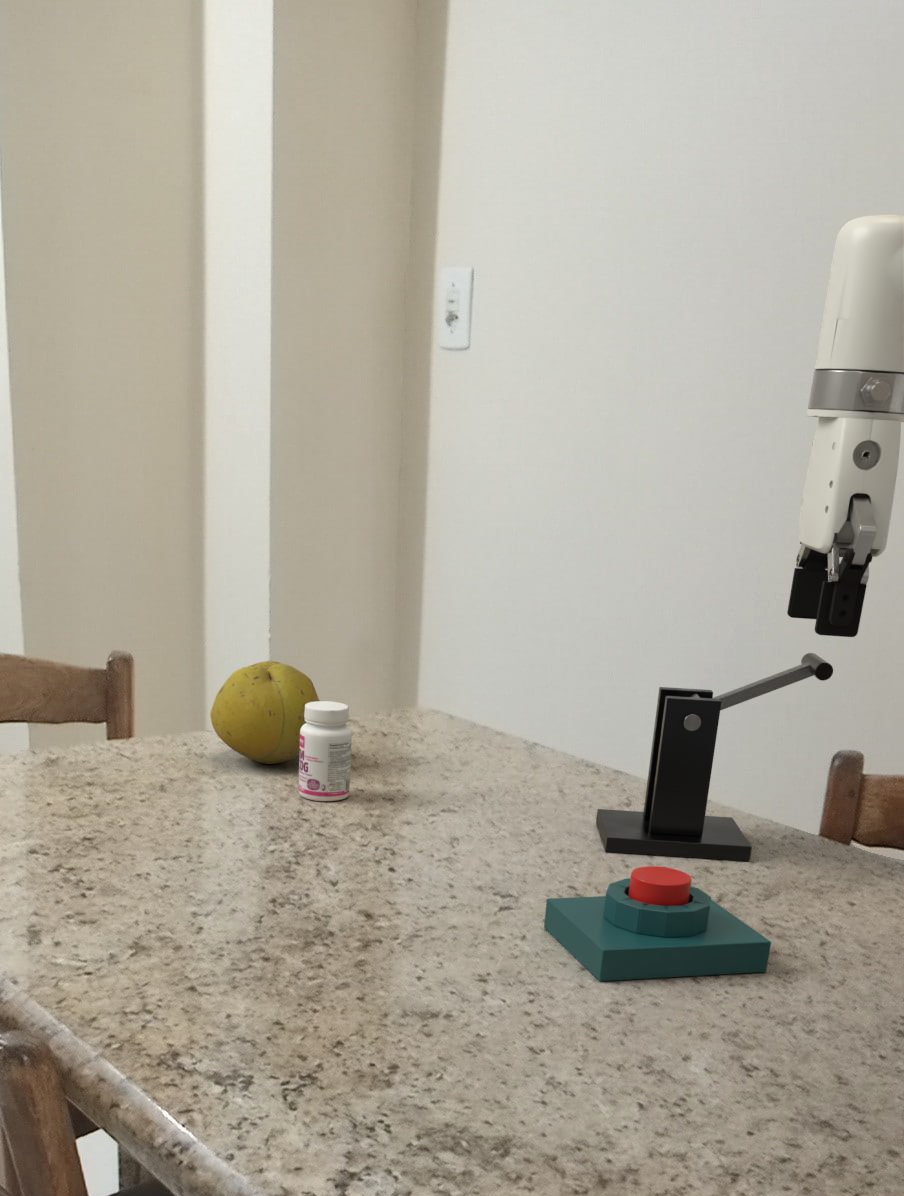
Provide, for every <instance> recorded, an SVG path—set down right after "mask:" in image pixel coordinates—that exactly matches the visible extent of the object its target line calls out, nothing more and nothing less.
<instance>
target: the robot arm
mask: <svg viewBox="0 0 904 1196" xmlns="http://www.w3.org/2000/svg"><path fill="white" fill-rule="evenodd" d="M824 303H825V304H824V308H823V312H822V313H823V314H822V320H821V326H820V332H819V338H818V344H817V350H816V357H815V363H814V371H813V375H812V381H811V387H810V393H809V400H808V405H807V410H806V417H808V418H818V420H817V426H816V429H815V434H814V438H813V442H811V443H812V445H811V446H812V447H811V452H810V456H809V462H808V466H807V471H806V477H805V482H804V487H803V492H802V498H801V503H800V504H801V505H800V511H799V519H798V527H797V538H798V541H799V544H800V547H799V550H798V552H797V556H796V559H795V567H794V571H793V576H792V582H791V588H790V593H789V599H788V605H787V611H786V612H787V613H786V614H787V616H788V617H789V618H792V619H805V620H815V624H814V633H816V634H817V635H819V636H826V637H827V636H831V637H845V638H855V637H856V636H857V635H858V634H859V629H860V622H861V618H862V613H863V607H864V602H865V596H866V591H867V586H868V581H869V578H870V563H872V561H873V558H877V557H879V556H880V555H882V554H883V553H884V551H885V550H886V548H887V544H888V543H887V542H888V537H889V531H890V524H891V517H892V512H893V505H894V504H893V503H894V496H895V490H896V484H897V477H898V469H899V468H898V467H899V460H900V459H899V458H900V449H901V435H902V433H901V432H902V430H901V429H902V423H904V214H873V215H864V216H859V217H856V218H853V219H850V220H849V221H847V222H846V223H845V224H844V225H843V226H842V227H841V228H840V230H839V232H838V234H837V236H836V239H835V244H834V248H833V254H832V259H831V265H830V272H829V277H828V283H827V289H826V296H825V301H824ZM840 558H841V560H840Z"/></svg>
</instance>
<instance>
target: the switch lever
mask: <svg viewBox="0 0 904 1196" xmlns="http://www.w3.org/2000/svg"><path fill="white" fill-rule="evenodd" d="M833 674H834V668H833V665H832V664H831V663H830V662H828V661H826V660H825V659H823V658H822V657H820V656H819V655H817V654H816V653H813V652H808V653H806V654H804V655H803V656H802V658H801V660H800V664H799V665H796V666H794V667H791V668H788V669H786V670H782V671H780V672H778V673H775V674H772V675H770V676H767V677H765V678H761V679H759V680H757V681H754V682H751V683H749V684H746V685H743V686H740V687H738V688H736V689H735V688H734V689H733V690H730V691H727V692H725V693H722V694H719V695H717V696H713V698H711V699H720V700H721V709H720V711H724V710H726V709H728V708H731V707H734V706H736V705H739V704H742V703H745V702H747V701H749V700H752V699H756V698H758V697H761V696H763V695H765V694H768V693H770V692H771V693H772V692H773V691H776V690H780V689H781V688H784V687H787V686H789V685H792V684H795V683H798V682H799V681H803V680H806V679H809V678H811V677H815V678H816V679H817V680H818V681H821V682H823V681H824V682H825V681H827V680H829V679H831V678H832V676H833ZM689 697H694V698H700V697H699V696H698V695H697V694H694V695H692V696H689Z"/></svg>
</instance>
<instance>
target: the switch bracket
mask: <svg viewBox="0 0 904 1196" xmlns="http://www.w3.org/2000/svg"><path fill="white" fill-rule="evenodd" d="M694 694H697V695H698V696H699V697H700V698H694V697H689V696H692V695H694ZM711 698H714V691H713V690H712V689H701V688H687V687H686V688H685V687H667V686H659V688H658V696H657V704H656V710H655V720H654V727H653V734H652V741H651V742H652V743H651V750H650V758H649V766H648V775H647V780H646V781H647V782H646V790H645V797H644V806H643V811H638V810H621V809H607V808H606V809H605V808H597V811H596V817H595V818H596V820H595V823H596V826H597V830H598V833H599V835H600V839H601V842H602V846H603V849H604V851H605V852H606V853H615V854H630V855H644V856H645V855H647V856H663V857H676V858H691V859H692V858H693V859H706V860H707V859H708V860H724V861H737V862H739V861H740V862H750V861H751V855H752V849H753V847H752V845H751V844H750V842H749V841H748V839H747V838H746V836H745V834H744V833H743V832H742V830H741V829H740V826H739V825H738V824H737V822H736V821H735V819H734V818H733V817H731V816H716V815H706V813H707V804H708V798H709V793H710V792H709V790H710V785H711V777H712V770H713V763H714V757H715V750H716V742H717V735H718V729H719V723H720V715H721V710H720V709H721V700H720V699H711Z"/></svg>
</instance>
